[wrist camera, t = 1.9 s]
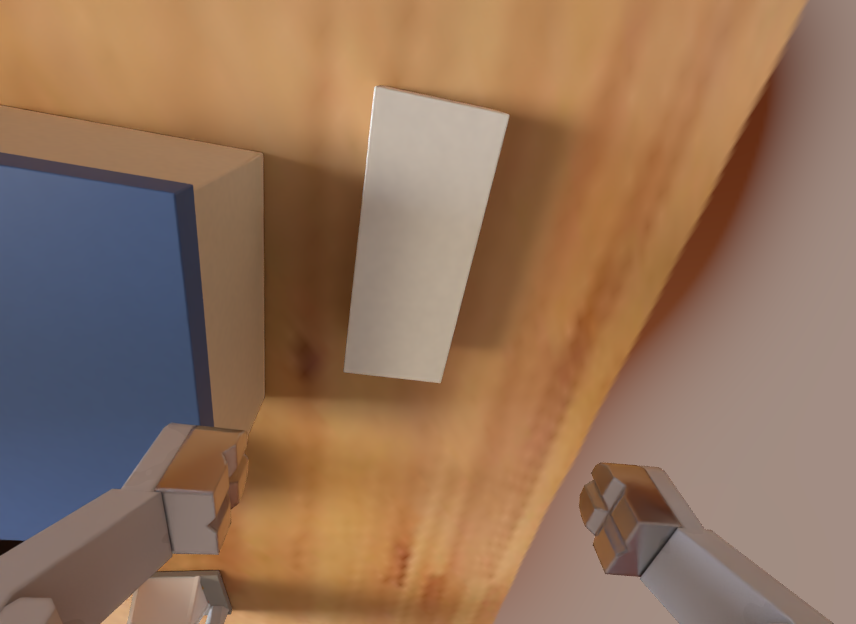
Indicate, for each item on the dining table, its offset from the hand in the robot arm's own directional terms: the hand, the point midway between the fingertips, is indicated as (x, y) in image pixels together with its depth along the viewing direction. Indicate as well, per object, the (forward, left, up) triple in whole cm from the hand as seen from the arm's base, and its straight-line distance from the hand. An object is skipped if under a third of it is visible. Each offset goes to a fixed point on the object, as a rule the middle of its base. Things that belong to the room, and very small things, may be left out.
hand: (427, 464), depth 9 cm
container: (+5, -14, -16) cm, 22 cm away
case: (0, 0, -16) cm, 16 cm away
